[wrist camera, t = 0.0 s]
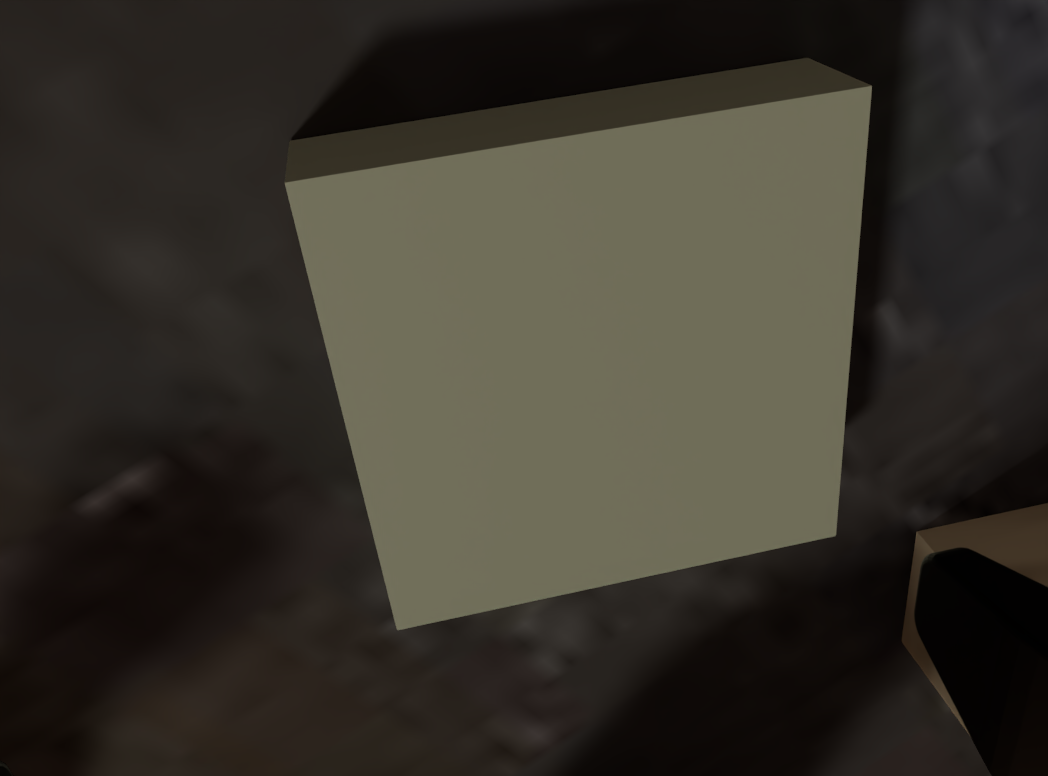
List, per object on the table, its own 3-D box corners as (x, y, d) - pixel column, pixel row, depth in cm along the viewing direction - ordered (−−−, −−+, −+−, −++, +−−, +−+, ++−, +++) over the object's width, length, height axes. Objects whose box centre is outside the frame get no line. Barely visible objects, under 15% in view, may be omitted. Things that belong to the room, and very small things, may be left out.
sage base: (789, 472, 28) (835, 535, 25) (390, 555, 27) (397, 630, 24) (807, 57, 22) (872, 85, 19) (289, 140, 20) (284, 182, 18)
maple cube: (1031, 609, 33) (1135, 721, 29) (900, 639, 33) (985, 757, 29) (1057, 499, 31) (1174, 603, 27) (915, 530, 30) (1011, 641, 26)
